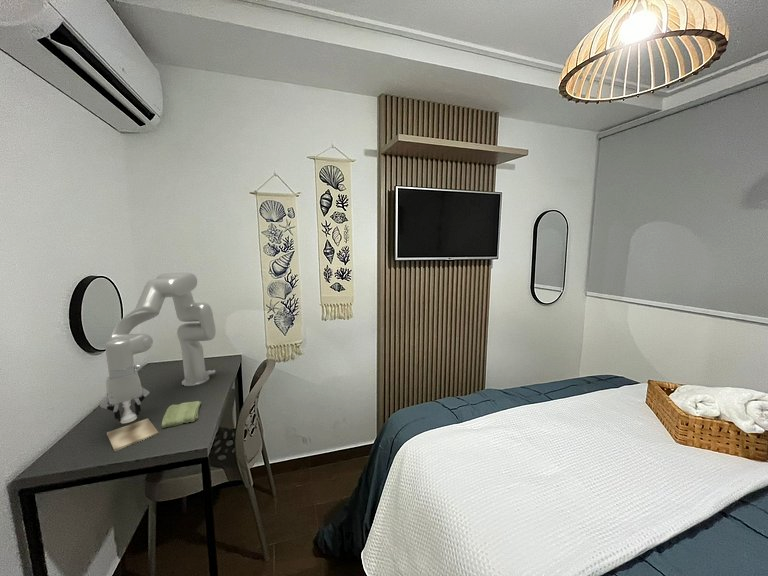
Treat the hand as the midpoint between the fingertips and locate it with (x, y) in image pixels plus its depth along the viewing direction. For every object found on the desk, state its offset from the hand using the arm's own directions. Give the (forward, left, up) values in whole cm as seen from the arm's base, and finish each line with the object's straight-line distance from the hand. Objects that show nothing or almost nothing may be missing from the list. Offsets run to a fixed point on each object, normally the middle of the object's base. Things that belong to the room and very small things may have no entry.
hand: (128, 416), depth 122 cm
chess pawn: (0, 0, -2) cm, 2 cm away
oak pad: (0, +4, -6) cm, 7 cm away
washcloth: (-17, +3, -7) cm, 18 cm away
